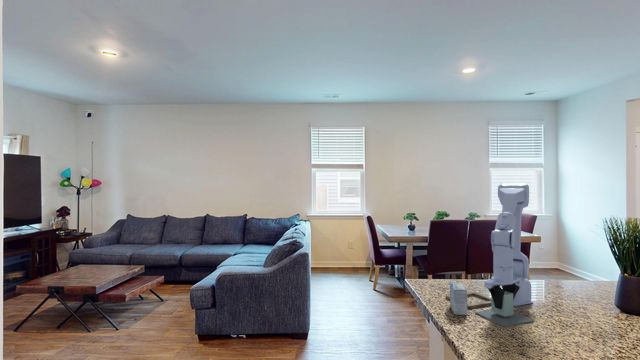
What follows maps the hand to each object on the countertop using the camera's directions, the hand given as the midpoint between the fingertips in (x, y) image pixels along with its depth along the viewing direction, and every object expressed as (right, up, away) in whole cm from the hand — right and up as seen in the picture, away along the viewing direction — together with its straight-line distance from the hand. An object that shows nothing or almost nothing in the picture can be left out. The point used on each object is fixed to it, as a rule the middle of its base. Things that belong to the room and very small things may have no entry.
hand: (503, 307), depth 114 cm
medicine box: (-12, -4, +6) cm, 14 cm away
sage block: (0, -2, 0) cm, 2 cm away
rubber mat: (0, -3, 0) cm, 3 cm away
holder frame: (-4, -4, +16) cm, 16 cm away
